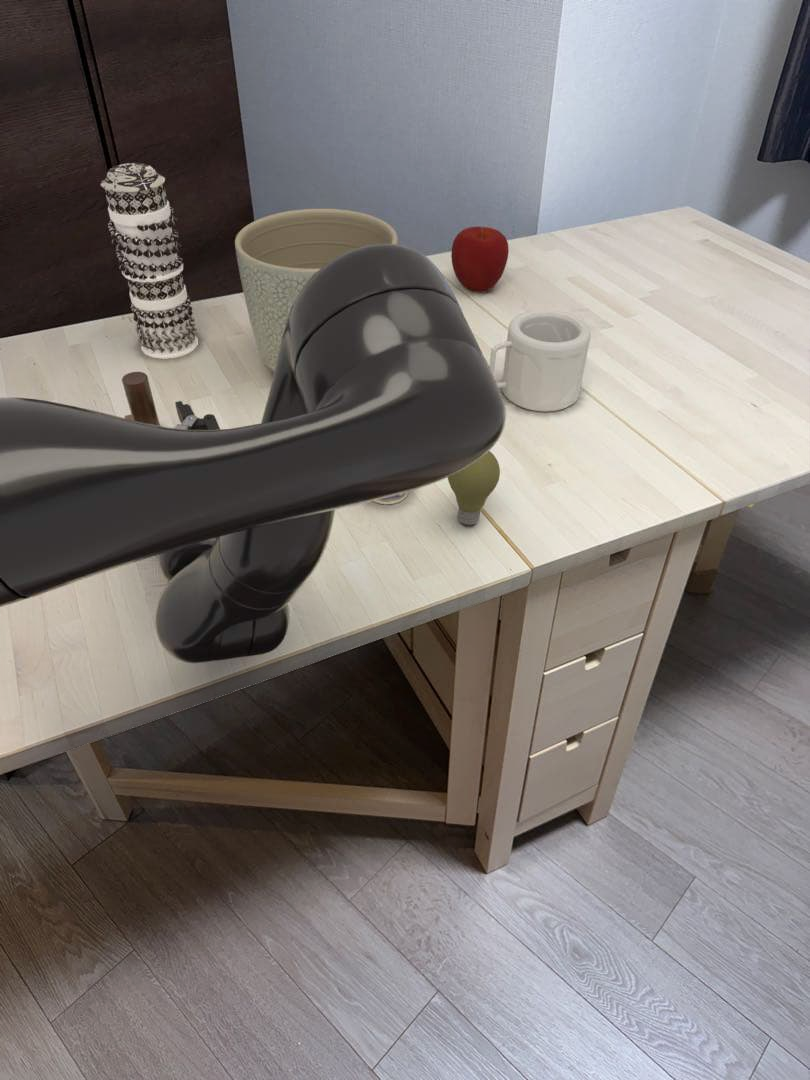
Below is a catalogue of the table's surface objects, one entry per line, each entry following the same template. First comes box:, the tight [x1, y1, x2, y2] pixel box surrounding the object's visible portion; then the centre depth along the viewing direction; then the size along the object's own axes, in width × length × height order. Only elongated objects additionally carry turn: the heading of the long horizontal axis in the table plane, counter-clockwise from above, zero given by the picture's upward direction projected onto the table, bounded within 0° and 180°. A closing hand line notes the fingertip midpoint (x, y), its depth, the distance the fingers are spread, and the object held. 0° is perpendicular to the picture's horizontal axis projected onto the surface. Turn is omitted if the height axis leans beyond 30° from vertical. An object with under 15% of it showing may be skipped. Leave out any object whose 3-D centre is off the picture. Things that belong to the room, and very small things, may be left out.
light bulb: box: [447, 450, 501, 526], centre depth 80 cm, size 6×6×10 cm
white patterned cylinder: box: [100, 162, 199, 360], centre depth 104 cm, size 9×9×25 cm
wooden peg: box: [121, 371, 161, 426], centre depth 83 cm, size 4×7×14 cm, turn 116°
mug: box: [489, 309, 592, 412], centre depth 100 cm, size 14×11×10 cm
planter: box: [234, 208, 399, 372], centre depth 102 cm, size 21×21×19 cm
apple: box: [450, 226, 510, 293], centre depth 125 cm, size 10×10×10 cm
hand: (141, 417), depth 83 cm, fingers open, 8 cm apart
